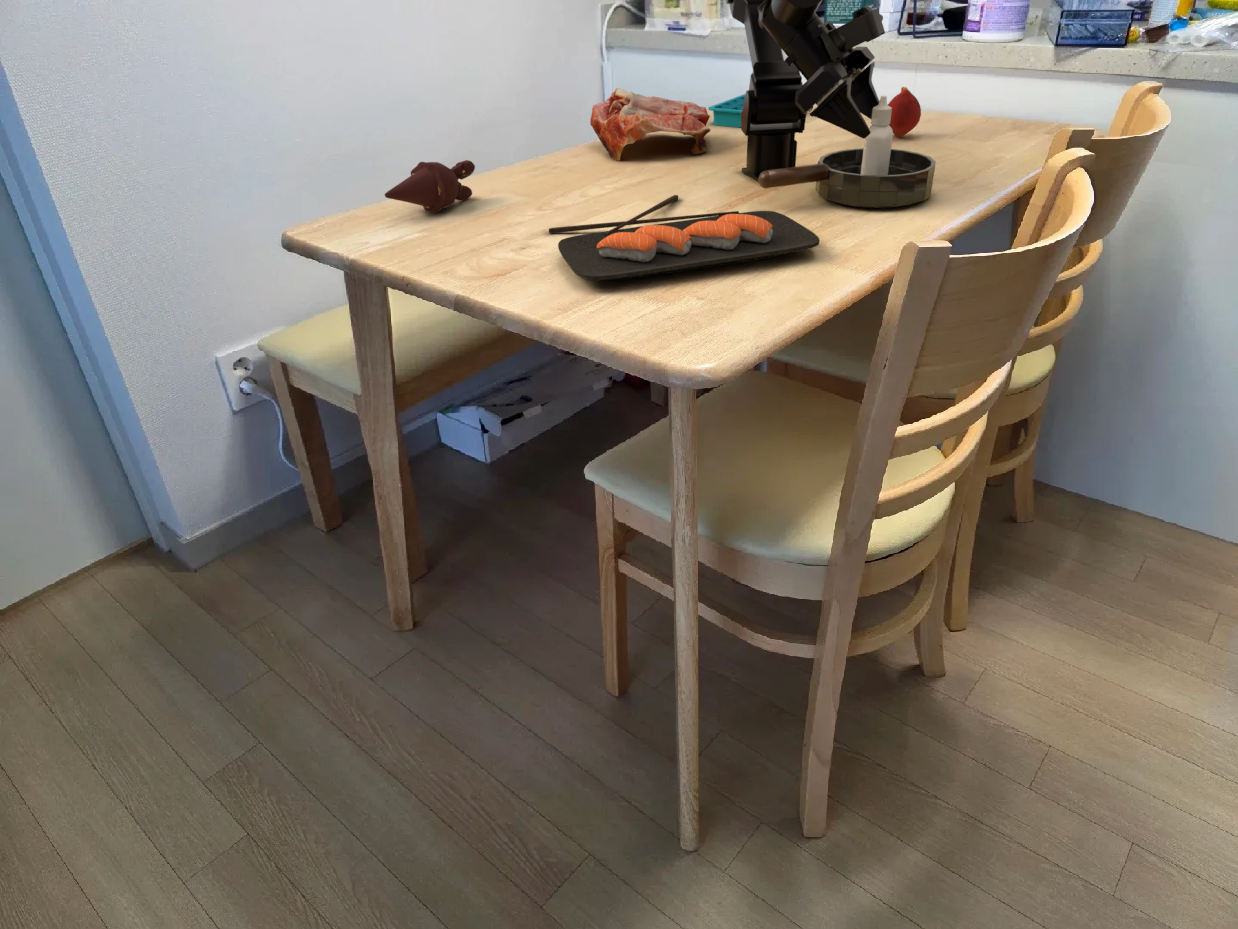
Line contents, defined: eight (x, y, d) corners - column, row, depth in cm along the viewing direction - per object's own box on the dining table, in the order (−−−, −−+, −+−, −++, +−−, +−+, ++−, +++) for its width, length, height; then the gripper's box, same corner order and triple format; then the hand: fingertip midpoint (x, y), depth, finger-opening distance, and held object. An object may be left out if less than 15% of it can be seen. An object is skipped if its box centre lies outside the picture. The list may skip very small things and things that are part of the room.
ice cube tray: (705, 125, 156) (705, 108, 154) (755, 105, 169) (755, 89, 168) (760, 130, 150) (761, 112, 148) (807, 109, 163) (809, 93, 162)
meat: (659, 128, 155) (658, 70, 150) (739, 145, 141) (741, 81, 135) (569, 148, 145) (564, 86, 140) (644, 168, 131) (642, 101, 125)
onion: (913, 133, 143) (920, 82, 139) (920, 140, 138) (928, 89, 134) (879, 133, 144) (885, 84, 139) (884, 141, 139) (891, 90, 134)
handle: (762, 190, 107) (763, 173, 106) (755, 186, 109) (755, 169, 108) (832, 181, 110) (834, 164, 108) (824, 177, 111) (826, 160, 110)
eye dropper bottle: (846, 190, 114) (855, 97, 107) (873, 183, 116) (884, 91, 110) (870, 197, 111) (882, 101, 104) (898, 189, 113) (911, 95, 107)
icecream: (403, 180, 106) (491, 166, 116) (369, 158, 109) (458, 146, 119) (401, 230, 111) (486, 212, 120) (368, 208, 114) (454, 192, 124)
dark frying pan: (851, 217, 106) (855, 181, 103) (796, 187, 118) (799, 155, 116) (953, 202, 109) (959, 167, 107) (890, 175, 121) (894, 143, 119)
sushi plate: (582, 296, 88) (579, 262, 86) (528, 217, 112) (525, 189, 110) (828, 259, 94) (832, 225, 92) (727, 191, 118) (727, 164, 116)
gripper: (829, -11, 95) (912, 96, 97) (867, -22, 109) (940, 71, 111) (760, 63, 103) (839, 160, 105) (804, 43, 117) (873, 130, 118)
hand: (875, 128), depth 109 cm, fingers open, 9 cm apart
